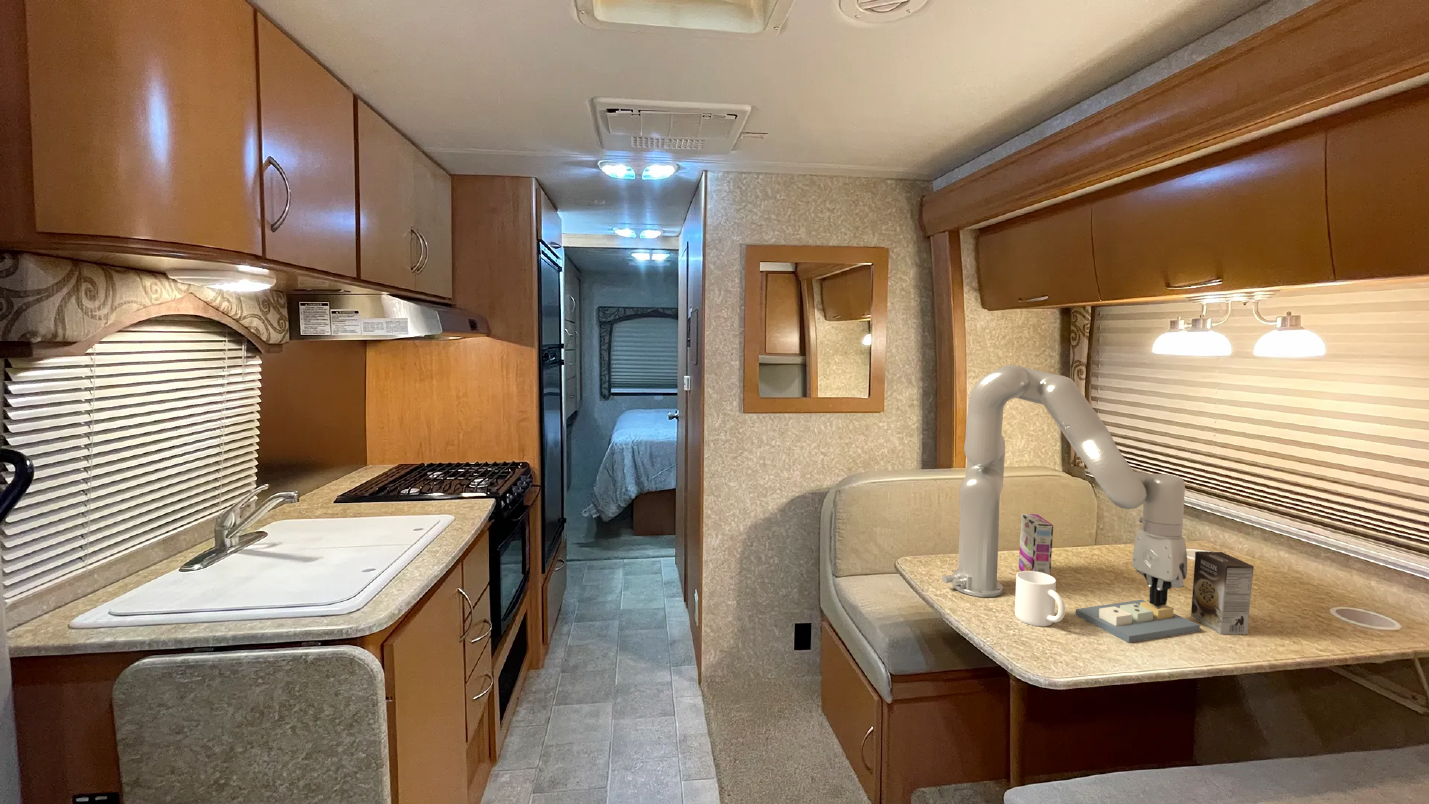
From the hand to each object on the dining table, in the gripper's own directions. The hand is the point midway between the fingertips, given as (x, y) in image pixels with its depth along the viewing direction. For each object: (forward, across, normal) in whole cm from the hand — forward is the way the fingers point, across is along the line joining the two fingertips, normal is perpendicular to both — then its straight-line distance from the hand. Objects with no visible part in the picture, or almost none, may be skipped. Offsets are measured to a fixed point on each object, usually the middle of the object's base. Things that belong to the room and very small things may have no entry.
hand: (1157, 604), depth 141 cm
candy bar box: (+4, -30, -7) cm, 31 cm away
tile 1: (+3, 0, -12) cm, 12 cm away
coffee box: (+4, +6, +11) cm, 13 cm away
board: (+4, 0, -6) cm, 7 cm away
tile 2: (+3, 0, -6) cm, 7 cm away
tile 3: (+3, 0, 0) cm, 3 cm away
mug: (+4, -6, -27) cm, 28 cm away
